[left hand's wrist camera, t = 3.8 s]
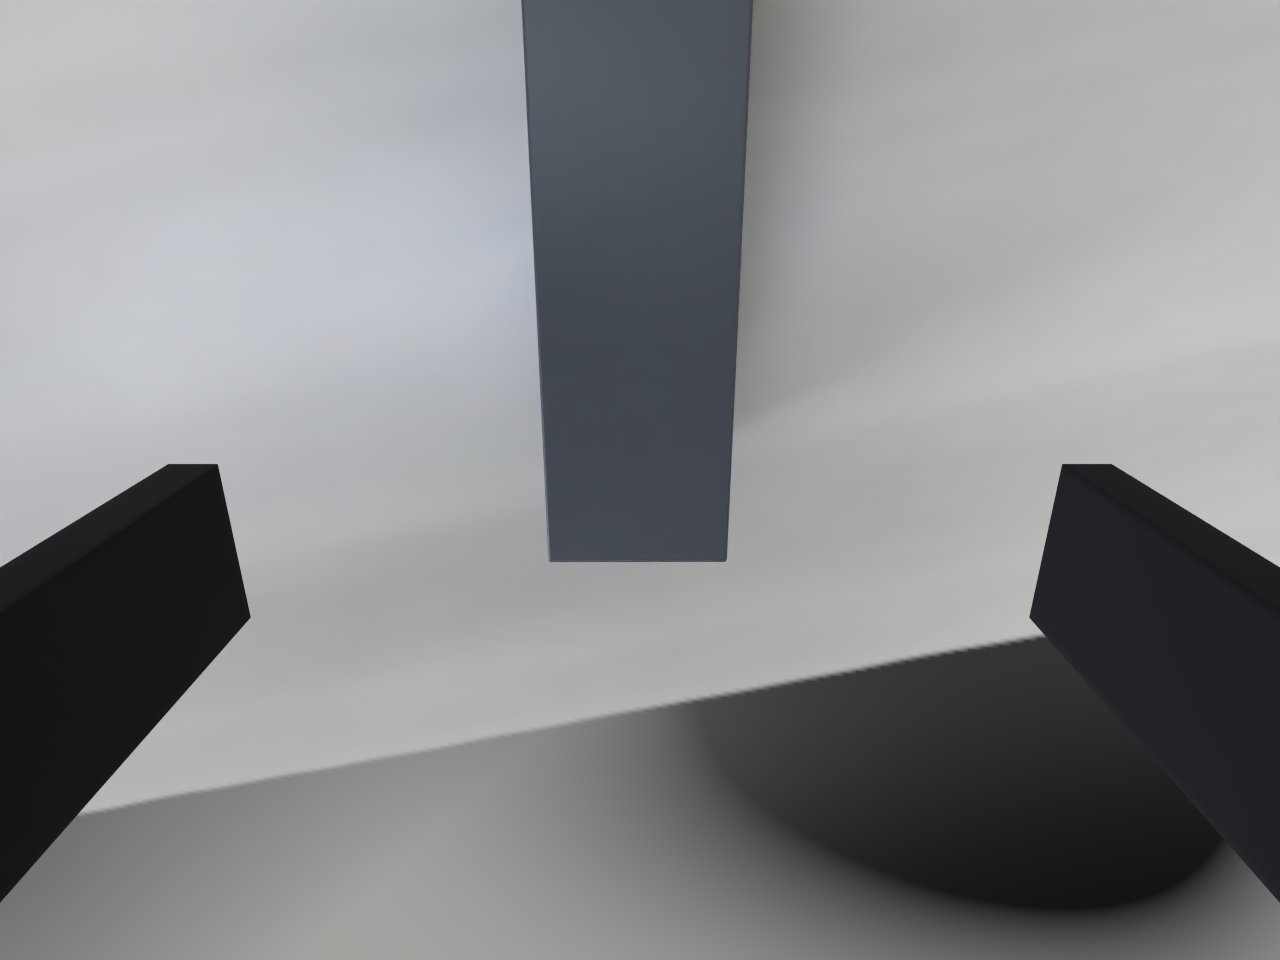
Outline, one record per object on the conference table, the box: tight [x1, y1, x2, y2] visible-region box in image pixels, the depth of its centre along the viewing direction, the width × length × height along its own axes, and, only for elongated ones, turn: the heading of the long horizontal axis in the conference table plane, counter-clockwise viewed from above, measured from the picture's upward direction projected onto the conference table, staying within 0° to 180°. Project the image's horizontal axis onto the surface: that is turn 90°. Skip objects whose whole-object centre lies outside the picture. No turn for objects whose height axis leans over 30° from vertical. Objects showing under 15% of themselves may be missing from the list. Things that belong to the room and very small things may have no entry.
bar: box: [522, 0, 753, 562], centre depth 21 cm, size 22×5×9 cm, turn 0°
